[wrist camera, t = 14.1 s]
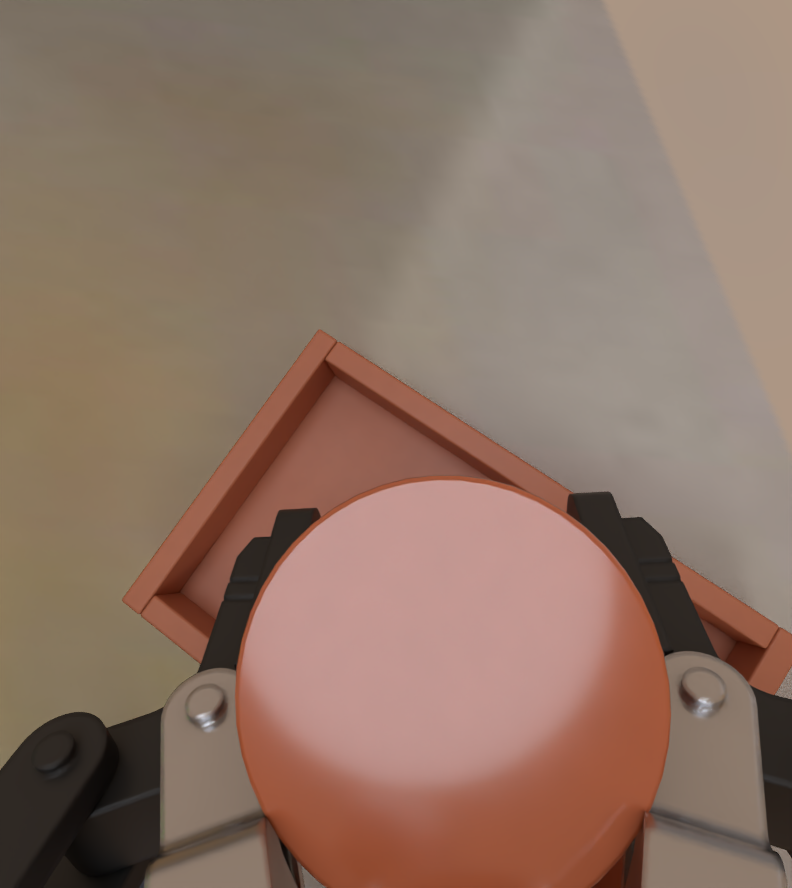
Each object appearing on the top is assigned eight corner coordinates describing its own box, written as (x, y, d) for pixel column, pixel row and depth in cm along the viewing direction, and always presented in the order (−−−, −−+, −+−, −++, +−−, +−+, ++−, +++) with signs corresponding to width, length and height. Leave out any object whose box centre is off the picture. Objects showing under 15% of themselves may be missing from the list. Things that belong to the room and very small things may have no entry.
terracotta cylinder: (319, 642, 16) (148, 741, 7) (426, 486, 16) (391, 396, 8) (478, 763, 15) (511, 1050, 6) (586, 595, 15) (760, 636, 7)
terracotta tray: (159, 596, 17) (119, 600, 15) (334, 354, 18) (318, 327, 16) (582, 928, 15) (602, 988, 13) (759, 632, 16) (807, 643, 13)
